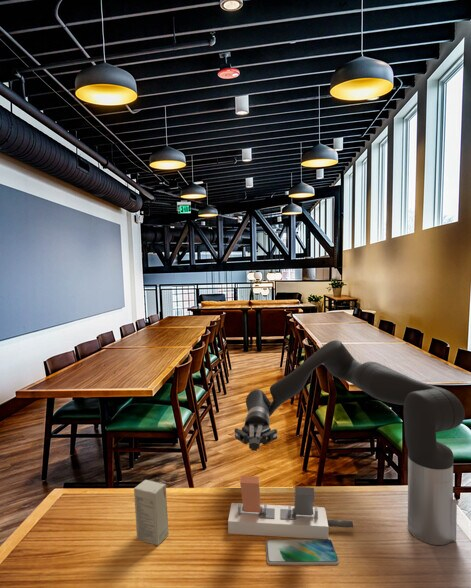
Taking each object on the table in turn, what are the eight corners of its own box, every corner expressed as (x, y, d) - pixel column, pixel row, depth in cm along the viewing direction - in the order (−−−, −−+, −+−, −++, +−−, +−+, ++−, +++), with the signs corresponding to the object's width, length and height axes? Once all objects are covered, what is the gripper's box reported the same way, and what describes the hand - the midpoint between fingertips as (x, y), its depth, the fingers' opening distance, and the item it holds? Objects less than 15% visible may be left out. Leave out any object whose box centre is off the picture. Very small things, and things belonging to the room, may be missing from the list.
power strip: (349, 520, 93) (349, 501, 92) (355, 540, 86) (355, 520, 85) (231, 514, 96) (231, 496, 96) (228, 533, 89) (227, 513, 89)
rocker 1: (262, 507, 92) (260, 476, 85) (262, 514, 91) (260, 483, 83) (242, 506, 93) (238, 475, 85) (242, 513, 92) (238, 482, 84)
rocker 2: (312, 509, 91) (315, 487, 82) (313, 516, 90) (316, 495, 80) (292, 508, 91) (293, 486, 82) (292, 515, 90) (293, 494, 81)
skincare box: (169, 534, 89) (167, 484, 88) (158, 546, 85) (156, 494, 84) (147, 527, 92) (145, 478, 91) (135, 538, 88) (133, 487, 87)
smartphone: (265, 539, 86) (331, 538, 86) (265, 542, 86) (331, 542, 86) (267, 562, 79) (339, 562, 79) (267, 566, 79) (339, 566, 79)
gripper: (279, 434, 117) (279, 461, 100) (236, 433, 119) (229, 460, 102) (278, 410, 117) (278, 434, 100) (236, 410, 119) (228, 432, 101)
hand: (253, 447), depth 101 cm, fingers closed
